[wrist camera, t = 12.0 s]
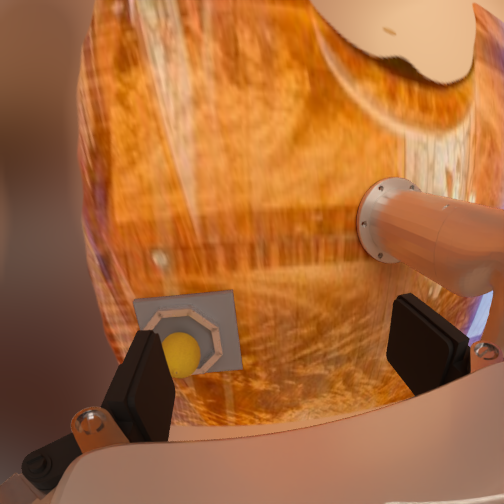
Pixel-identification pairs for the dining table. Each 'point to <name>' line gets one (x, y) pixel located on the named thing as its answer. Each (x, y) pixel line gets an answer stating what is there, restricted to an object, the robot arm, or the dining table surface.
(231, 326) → the board
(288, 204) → the dining table surface
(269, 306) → the dining table surface
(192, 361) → the lemon
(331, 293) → the dining table surface
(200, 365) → the ring
